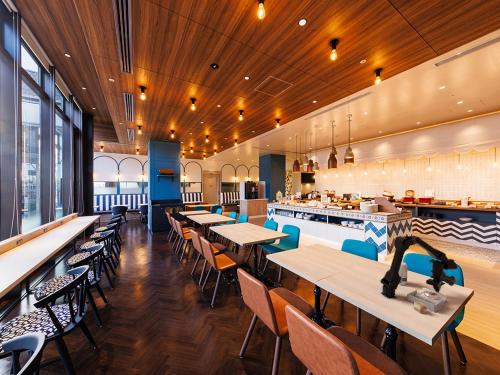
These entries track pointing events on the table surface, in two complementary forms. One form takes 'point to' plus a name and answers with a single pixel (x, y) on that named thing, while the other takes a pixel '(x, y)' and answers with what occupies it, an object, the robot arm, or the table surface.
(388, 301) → the table surface
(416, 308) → the pedestal
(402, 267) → the supplement can
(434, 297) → the disc
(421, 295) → the tray
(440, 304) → the housing
